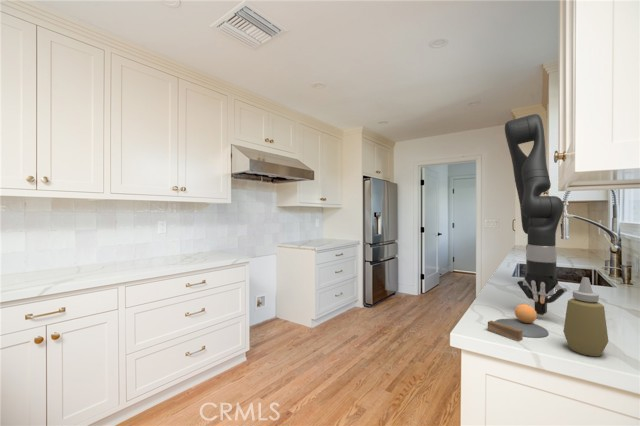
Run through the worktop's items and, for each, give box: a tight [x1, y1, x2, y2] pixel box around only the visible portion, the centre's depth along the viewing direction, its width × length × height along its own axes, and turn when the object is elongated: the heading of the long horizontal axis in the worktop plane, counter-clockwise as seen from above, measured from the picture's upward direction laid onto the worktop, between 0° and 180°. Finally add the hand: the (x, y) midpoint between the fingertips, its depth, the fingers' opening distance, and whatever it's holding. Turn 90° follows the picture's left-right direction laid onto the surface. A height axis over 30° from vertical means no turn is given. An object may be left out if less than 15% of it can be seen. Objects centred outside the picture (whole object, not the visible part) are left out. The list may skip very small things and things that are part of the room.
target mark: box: [494, 318, 549, 339], centre depth 84 cm, size 13×13×1 cm
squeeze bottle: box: [563, 276, 609, 357], centre depth 70 cm, size 8×8×18 cm
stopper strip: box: [487, 320, 523, 342], centre depth 79 cm, size 2×8×2 cm, turn 32°
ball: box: [514, 303, 538, 323], centre depth 88 cm, size 6×6×6 cm
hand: (540, 314), depth 91 cm, fingers closed
